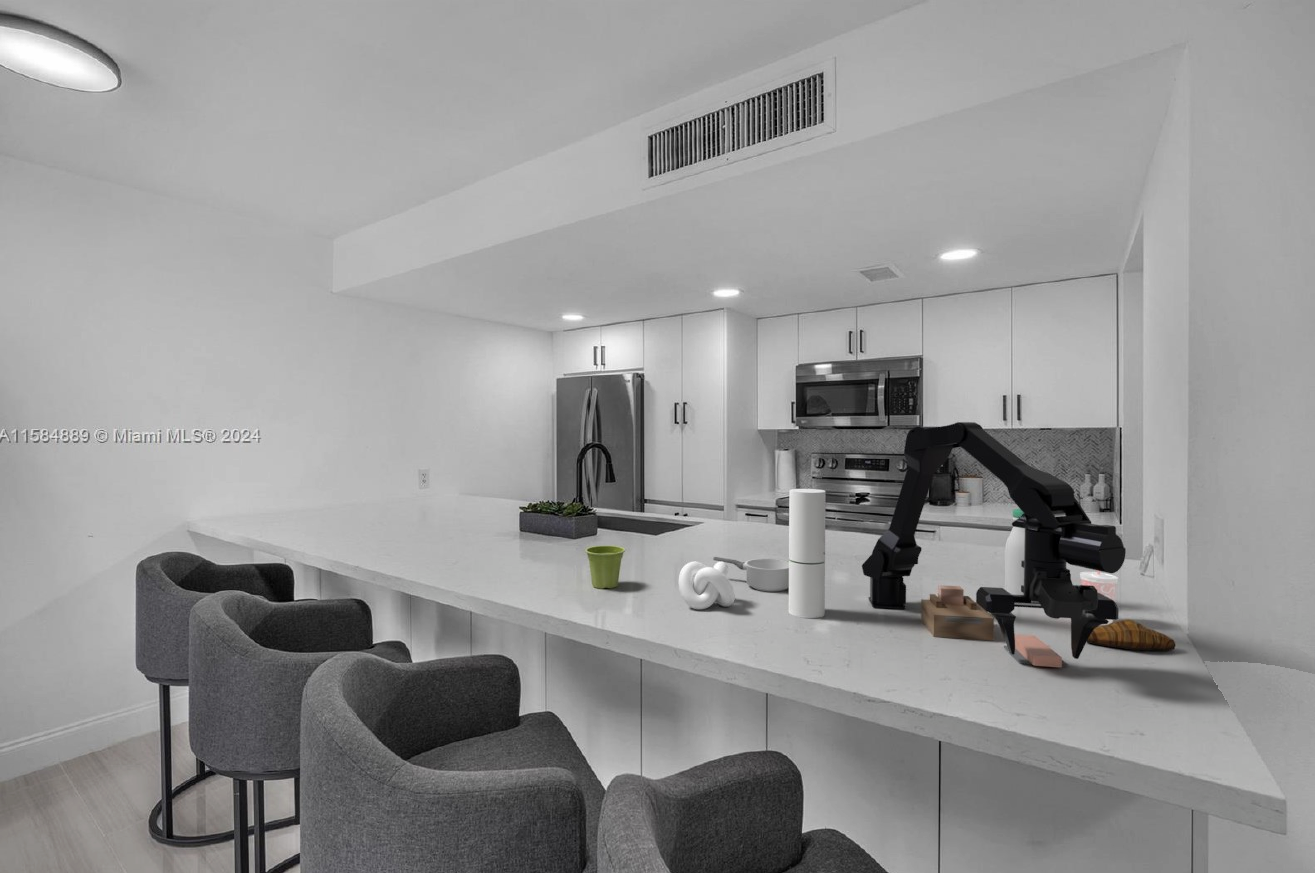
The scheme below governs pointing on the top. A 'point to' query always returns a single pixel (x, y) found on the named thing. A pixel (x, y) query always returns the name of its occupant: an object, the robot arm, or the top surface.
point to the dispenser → (956, 615)
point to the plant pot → (605, 565)
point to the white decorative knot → (705, 585)
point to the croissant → (1130, 637)
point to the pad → (1022, 659)
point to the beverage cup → (1101, 584)
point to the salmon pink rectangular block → (1037, 651)
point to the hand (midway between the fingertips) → (1043, 655)
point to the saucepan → (764, 573)
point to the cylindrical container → (807, 553)
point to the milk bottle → (1015, 558)
